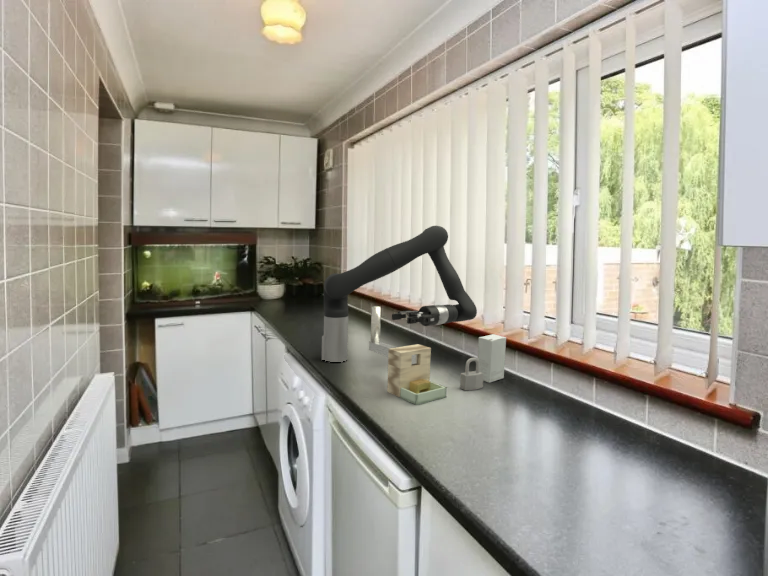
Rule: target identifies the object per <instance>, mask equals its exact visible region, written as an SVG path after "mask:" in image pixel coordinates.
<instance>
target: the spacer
mask: <svg viewBox="0 0 768 576" xmlns="http://www.w3.org/2000/svg"><path fill="white" fill-rule="evenodd" d="M430 381H431V380H430ZM430 381H427V380H425V379H419V380H415V381H411V382H410V391H411V392H414V393H416V394H418V393H420V391H421V392H427V391H430V383H431V382H432V381H431V382H430Z"/></svg>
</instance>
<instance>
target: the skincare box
mask: <svg viewBox="0 0 768 576" xmlns="http://www.w3.org/2000/svg"><path fill="white" fill-rule="evenodd" d="M506 346H507V337H506V336H501V335H499V334H495V333H494V334H493V333H492V334H489V335H485V336H479V337H478V345H477V347H478V348H477V359H478V360H479V364H480V365H479V372H481V373H483V382H487V383H492V382H496V381H498V380H499V381H500V380H502V379H504V378H505V376H504V375H505V365H506V363H505V362H506Z"/></svg>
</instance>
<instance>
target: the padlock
mask: <svg viewBox="0 0 768 576" xmlns="http://www.w3.org/2000/svg"><path fill="white" fill-rule="evenodd" d="M471 362H475V370H474V371H470V364H471ZM479 365H480V364H479V360H478V357H471V358H468V359H467V360H466V362H465V367H464V369H465V371H464V372H461V373H460V382H459V383H460V384H459V388H460V389H461V390H463V391H474V390H479V389H482V388H483V386H484V381H483V373H481V372H479Z"/></svg>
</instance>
